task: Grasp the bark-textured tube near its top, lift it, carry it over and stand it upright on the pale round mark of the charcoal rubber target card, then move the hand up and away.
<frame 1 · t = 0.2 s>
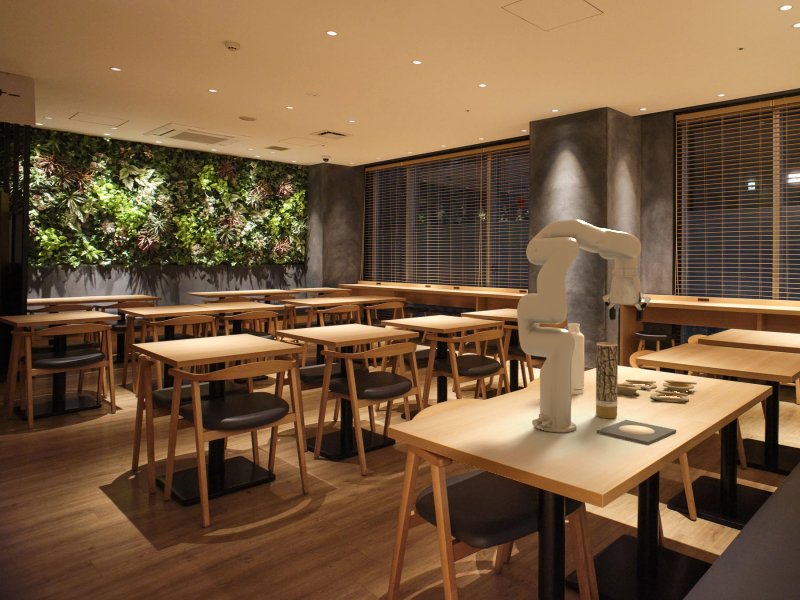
hand: (625, 320, 205), 31 cm above the table, tool pointing down, fingers open, 9 cm apart
tableware set: (653, 393, 228), on the table
bark-textured tube: (606, 417, 191), on the table
target card: (636, 432, 172), on the table
bottle: (573, 392, 230), on the table
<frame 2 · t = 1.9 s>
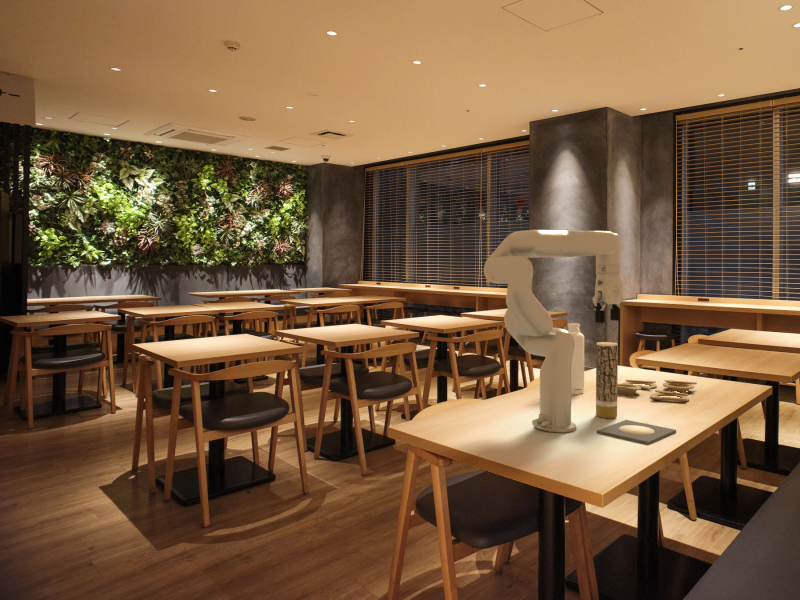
hand: (607, 321, 190), 32 cm above the table, tool pointing down, fingers open, 9 cm apart
nothing on the table moved.
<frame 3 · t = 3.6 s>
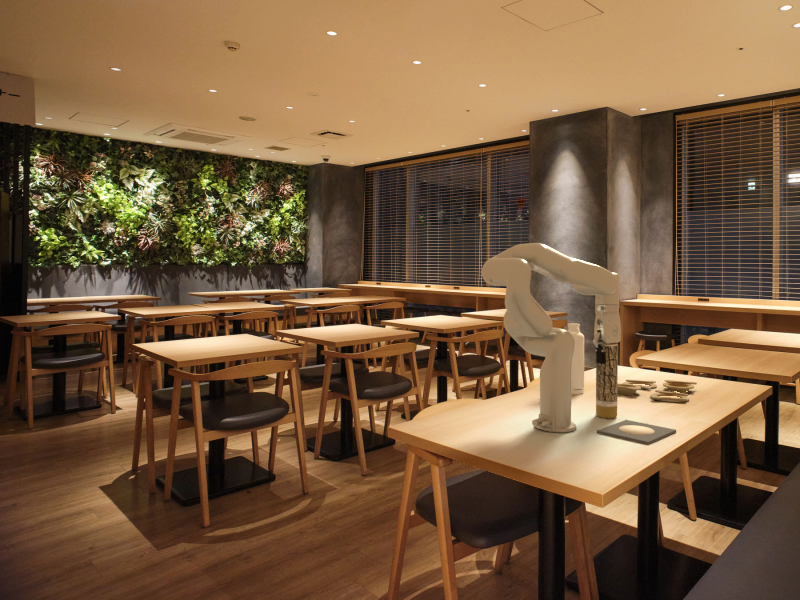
hand: (606, 361, 190), 19 cm above the table, tool pointing down, fingers closed on bark-textured tube, 6 cm apart
bark-textured tube: (606, 417, 191), on the table, touching gripper
everything else where it was.
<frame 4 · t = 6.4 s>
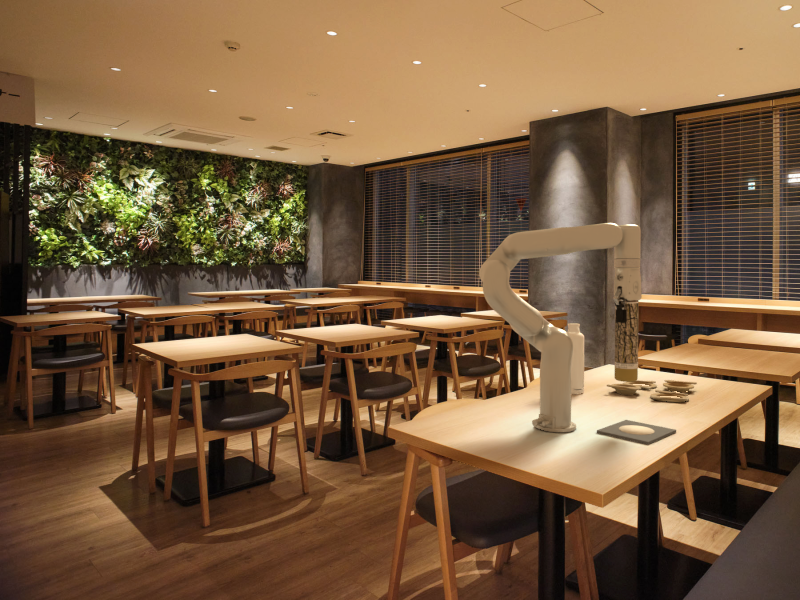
hand: (626, 321, 177), 34 cm above the table, tool pointing down, fingers closed on bark-textured tube, 6 cm apart
bark-textured tube: (625, 381, 178), point 15 cm above the table, touching gripper
everything else where it was.
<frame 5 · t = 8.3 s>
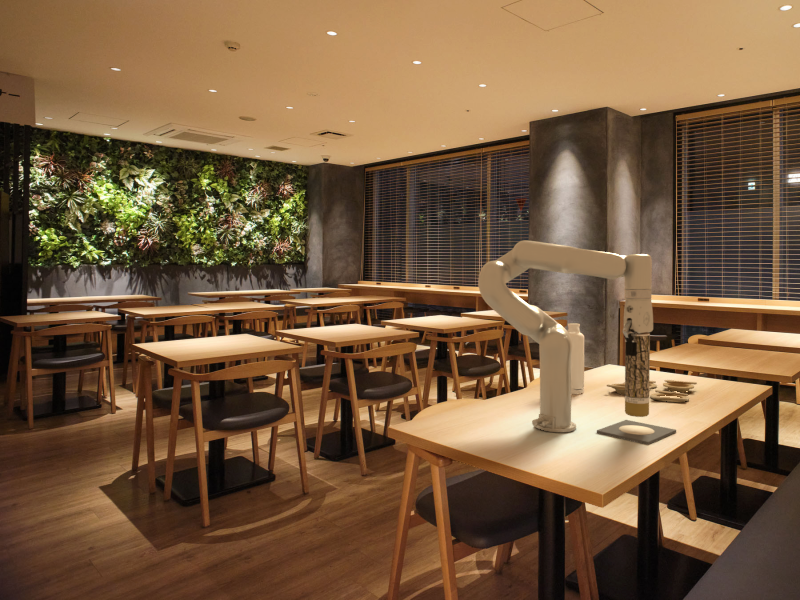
hand: (637, 353, 171), 24 cm above the table, tool pointing down, fingers closed on bark-textured tube, 6 cm apart
bark-textured tube: (636, 415, 171), point 5 cm above the table, touching gripper
everything else where it was.
when the fingers open (21 cm above the table, at t = 9.5 s): bark-textured tube drops 1 cm, resting on target card.
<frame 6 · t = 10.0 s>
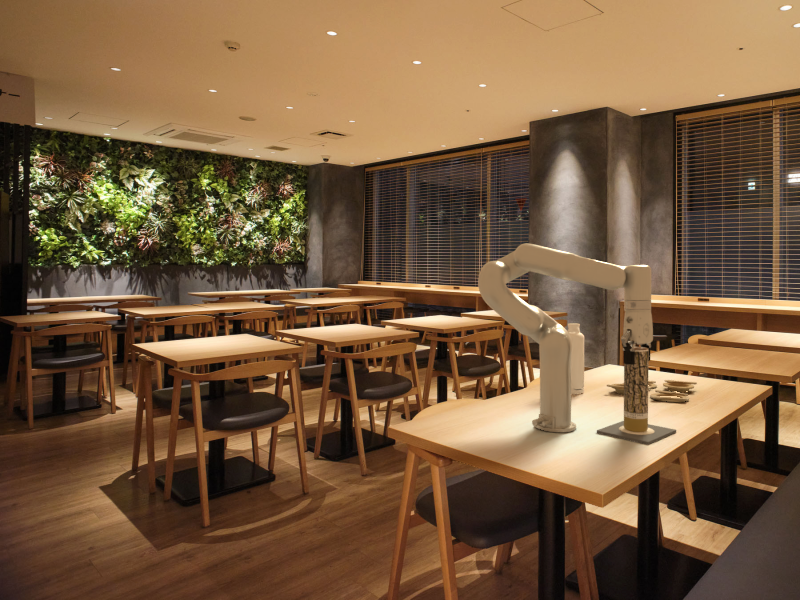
hand: (637, 362, 171), 22 cm above the table, tool pointing down, fingers open, 9 cm apart
bark-textured tube: (635, 430, 172), point 1 cm above the table, touching target card
everything else where it was.
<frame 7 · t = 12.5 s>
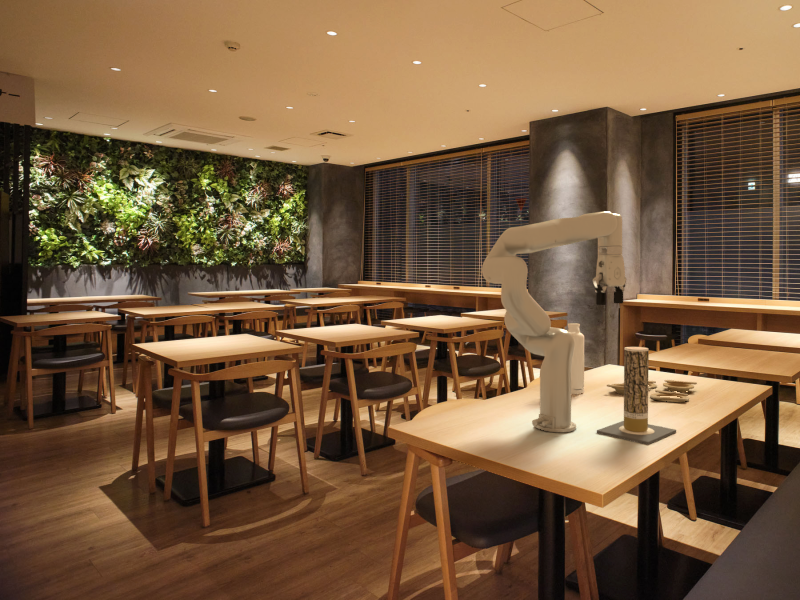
hand: (609, 304, 186), 38 cm above the table, tool pointing down, fingers open, 9 cm apart
nothing on the table moved.
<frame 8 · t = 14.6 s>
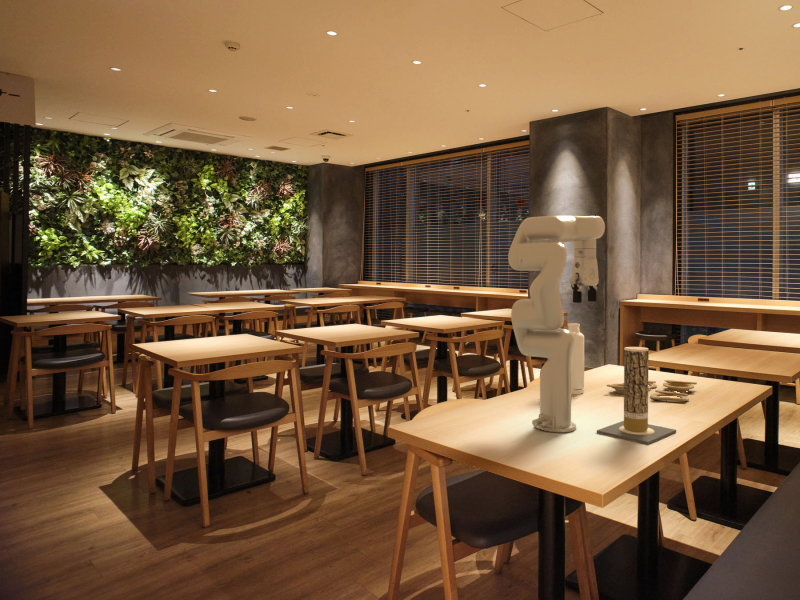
hand: (584, 301, 202), 38 cm above the table, tool pointing down, fingers open, 9 cm apart
nothing on the table moved.
at the end: bark-textured tube inside the target area on the target card (0.3 cm from its centre), point 0.7 cm above the target card's base; bark-textured tube tilted 0°; the gripper is holding nothing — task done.
